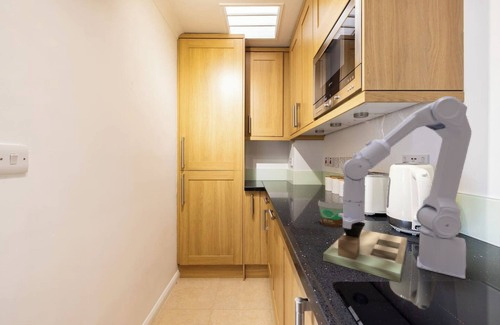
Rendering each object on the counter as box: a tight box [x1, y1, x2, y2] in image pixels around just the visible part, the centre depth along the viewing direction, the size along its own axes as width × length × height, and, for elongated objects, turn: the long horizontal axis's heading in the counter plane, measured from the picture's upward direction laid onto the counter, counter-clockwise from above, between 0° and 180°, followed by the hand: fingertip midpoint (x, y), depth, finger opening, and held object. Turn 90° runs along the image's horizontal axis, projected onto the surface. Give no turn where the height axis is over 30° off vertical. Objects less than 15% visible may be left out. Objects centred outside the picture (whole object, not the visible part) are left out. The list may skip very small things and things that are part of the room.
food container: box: [317, 199, 343, 228], centre depth 98 cm, size 12×6×10 cm, turn 62°
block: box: [337, 234, 360, 260], centre depth 64 cm, size 4×4×4 cm
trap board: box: [322, 229, 408, 283], centre depth 71 cm, size 18×30×2 cm, turn 143°
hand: (352, 247), depth 67 cm, fingers closed
